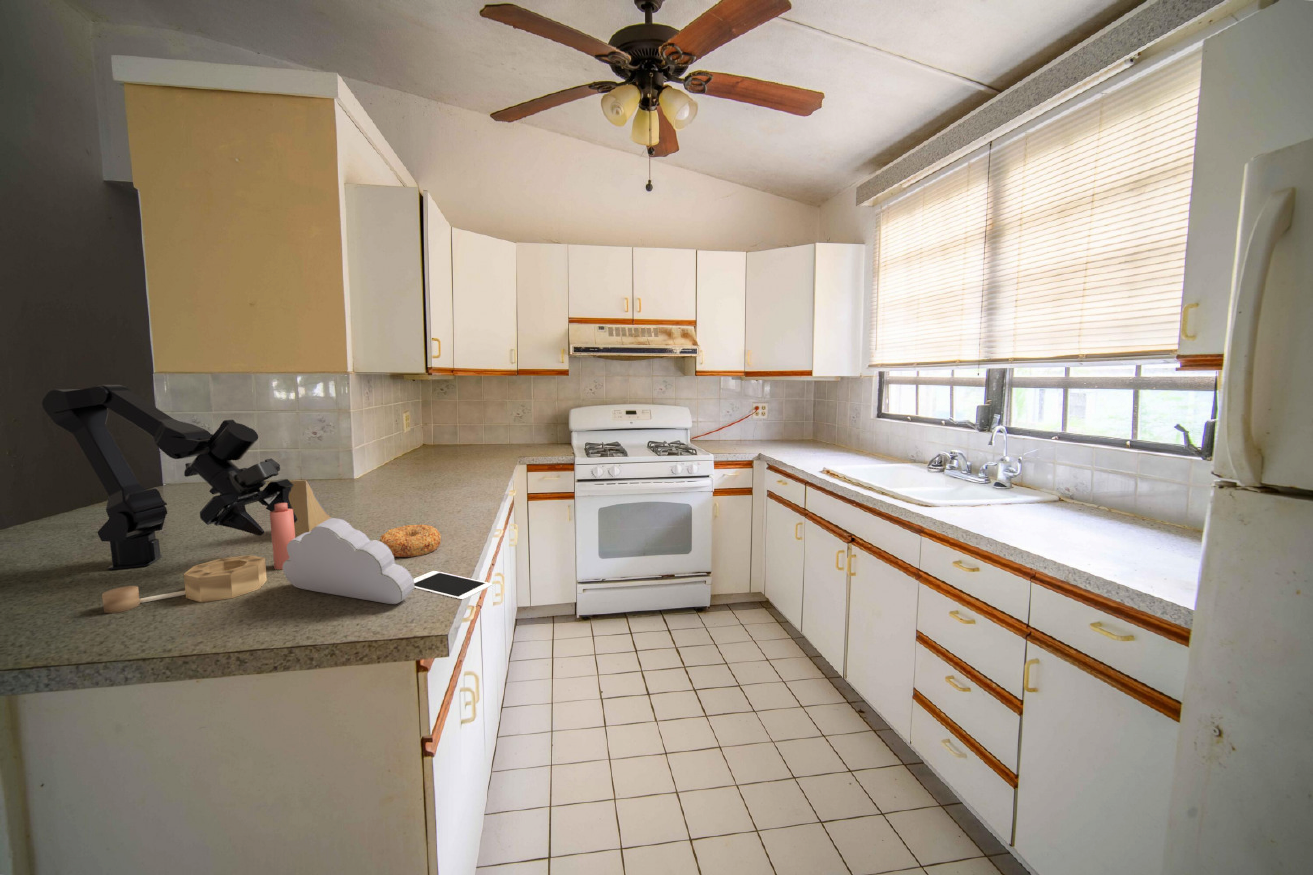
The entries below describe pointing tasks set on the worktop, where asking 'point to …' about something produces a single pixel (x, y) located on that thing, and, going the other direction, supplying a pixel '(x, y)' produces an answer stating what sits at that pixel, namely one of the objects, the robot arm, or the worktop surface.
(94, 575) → the worktop surface
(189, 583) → the bead
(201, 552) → the worktop surface
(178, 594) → the white thin stick
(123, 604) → the small bead
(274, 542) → the pink bottle
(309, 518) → the sandwich container
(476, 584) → the cell phone
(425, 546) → the bagel
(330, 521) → the decorative item
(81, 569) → the worktop surface
